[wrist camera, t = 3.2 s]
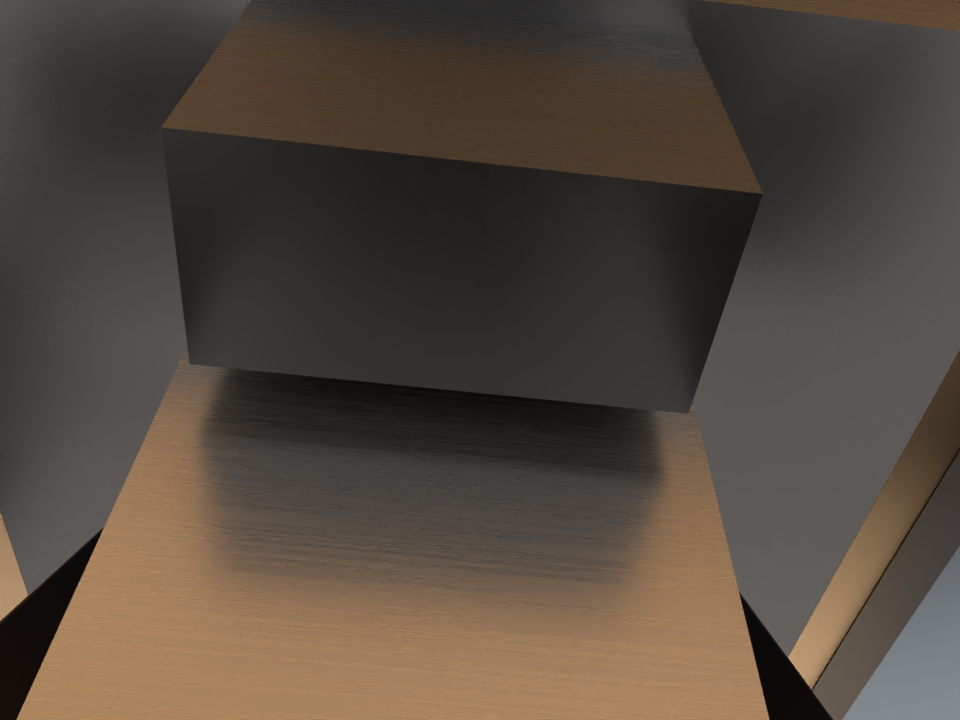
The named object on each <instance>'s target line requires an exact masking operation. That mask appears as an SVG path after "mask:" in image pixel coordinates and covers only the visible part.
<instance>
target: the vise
mask: <svg viewBox="0 0 960 720" xmlns="http://www.w3.org/2000/svg"><path fill="white" fill-rule="evenodd" d="M186 347H188V355H189V363H190V364H192V365H202V366H212V367H222V368H232V369H242V370H252V371H262V372H273V373H283V374H293V375H303V376H313V377H323V378H333V379H343V380H353V381H363V382H373V383H384V384H394V385H404V386H414V387H424V388H434V389H444V390H454V391H464V392H474V393H484V394H495V395H505V396H515V397H525V398H535V399H545V400H555V401H565V402H575V403H585V404H595V405H606V406H616V407H626V408H636V409H646V410H656V411H666V412H676V413H686V414H688V413H689V410H690V407H691V405H692V402H694V406H695V410H696V414H697V419H698V423H699V427H700V431H701V435H702V439H703V444H704V448H705V452H706V456H707V460H708V465H709V469H710V473H711V477H712V481H713V486H714V490H715V494H716V498H717V502H718V507H719V511H720V515H721V519H722V523H723V527H724V532H725V536H726V540H727V544H728V548H729V553H730V557H731V561H732V565H733V569H734V574H735V578H736V582H737V586H738V590H739V592H740V593H741V595H742V596H743V597H744V599H745V600H746V601H747V603H748V604H749V606H750V607H751V608H752V610H753V611H754V612H755V614H756V615H757V616H758V618H759V619H760V621H761V622H762V623H763V625H764V626H765V627H766V629H767V630H768V631H769V633H770V634H771V635H772V637H773V638H774V640H775V641H776V642H777V644H778V645H779V646H780V648H781V649H782V650H783V652H784V653H785V655H786V656H787V657H788V656H789V655H790V653H791V651H792V649H793V647H794V646H795V644H796V642H797V640H798V639H799V637H800V635H801V633H802V631H803V630H804V628H805V626H806V624H807V622H808V621H809V619H810V617H811V615H812V613H813V612H814V610H815V608H816V606H817V605H818V603H819V601H820V599H821V597H822V596H823V594H824V592H825V590H826V588H827V587H828V585H829V583H830V581H831V580H832V578H833V576H834V574H835V572H836V571H837V569H838V567H839V565H840V563H841V562H842V560H843V558H844V556H845V554H846V553H847V551H848V549H849V547H850V546H851V544H852V542H853V540H854V538H855V537H856V535H857V533H858V531H859V529H860V528H861V526H862V524H863V522H864V521H865V519H866V517H867V515H868V513H869V512H870V510H871V508H872V506H873V504H874V503H875V501H876V499H877V497H878V496H879V494H880V492H881V490H882V488H883V487H884V485H885V483H886V481H887V479H888V478H889V476H890V474H891V472H892V470H893V469H894V467H895V465H896V463H897V462H898V460H899V458H900V456H901V454H902V453H903V451H904V449H905V447H906V445H907V444H908V442H909V440H910V438H911V437H912V435H913V433H914V431H915V429H916V428H917V426H918V424H919V422H920V420H921V419H922V417H923V415H924V413H925V411H926V410H927V408H928V406H929V404H930V403H931V401H932V399H933V397H934V395H935V394H936V392H937V390H938V388H939V386H940V385H941V383H942V381H943V379H944V378H945V376H946V374H947V372H948V370H949V369H950V367H951V365H952V363H953V361H954V360H955V358H956V356H957V354H958V353H959V351H960V2H955V1H947V0H0V511H1V514H2V517H3V520H4V523H5V526H6V529H7V532H8V535H9V538H10V541H11V544H12V547H13V550H14V553H15V556H16V559H17V563H18V566H19V569H20V572H21V575H22V578H23V581H24V584H25V587H26V590H27V593H28V595H30V594H31V593H32V592H33V591H34V590H35V589H36V588H37V587H38V586H39V585H41V584H42V583H43V582H44V581H45V580H46V579H47V578H48V577H49V576H50V575H52V574H53V573H54V572H55V571H56V570H57V569H58V568H59V567H60V566H61V565H63V564H64V563H65V562H66V561H67V560H68V559H69V558H70V557H71V556H72V555H74V554H75V553H76V552H77V551H78V550H79V549H80V548H81V547H82V546H83V545H84V544H86V543H87V542H88V541H89V540H90V539H91V538H92V537H93V536H94V535H95V534H97V533H98V532H99V531H100V530H101V529H102V528H103V527H104V526H105V525H106V522H107V520H108V518H109V516H110V514H111V511H112V509H113V507H114V505H115V503H116V501H117V498H118V496H119V494H120V492H121V490H122V487H123V485H124V483H125V481H126V479H127V476H128V474H129V472H130V470H131V468H132V465H133V463H134V461H135V459H136V457H137V455H138V452H139V450H140V448H141V446H142V444H143V441H144V439H145V437H146V435H147V433H148V430H149V428H150V426H151V424H152V422H153V419H154V417H155V415H156V413H157V411H158V409H159V406H160V404H161V402H162V400H163V398H164V395H165V393H166V391H167V389H168V387H169V384H170V382H171V380H172V378H173V376H174V373H175V371H176V369H177V367H178V365H179V362H180V360H181V358H182V356H183V354H184V352H185V349H186Z"/></svg>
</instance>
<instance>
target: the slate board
mask: <svg viewBox="0 0 960 720" xmlns="http://www.w3.org/2000/svg"><path fill="white" fill-rule="evenodd" d="M813 693H814V694H815V695H816V697H817V698H818V699H819V701H820V702H821V704H822V705H823V706H824V708H825V709H826V710H827V712H828V713H829V714H830V716H831V717H832V719H833V720H960V451H959V453H958V455H957V456H956V458H955V460H954V461H953V463H952V464H951V466H950V468H949V469H948V471H947V473H946V474H945V476H944V477H943V479H942V481H941V482H940V484H939V486H938V487H937V489H936V491H935V492H934V494H933V495H932V497H931V499H930V500H929V502H928V504H927V505H926V507H925V508H924V510H923V512H922V513H921V515H920V517H919V518H918V520H917V521H916V523H915V525H914V526H913V528H912V530H911V531H910V533H909V534H908V536H907V538H906V539H905V541H904V543H903V544H902V546H901V548H900V549H899V551H898V552H897V554H896V556H895V557H894V559H893V561H892V562H891V564H890V565H889V567H888V569H887V570H886V572H885V574H884V575H883V577H882V578H881V580H880V582H879V583H878V585H877V587H876V588H875V590H874V591H873V593H872V595H871V596H870V598H869V600H868V601H867V603H866V605H865V606H864V608H863V609H862V611H861V613H860V614H859V616H858V618H857V619H856V621H855V622H854V624H853V626H852V627H851V629H850V631H849V632H848V634H847V635H846V637H845V639H844V640H843V642H842V644H841V645H840V647H839V649H838V650H837V652H836V653H835V655H834V657H833V658H832V660H831V662H830V663H829V665H828V666H827V668H826V670H825V671H824V673H823V675H822V676H821V678H820V679H819V681H818V683H817V684H816V686H815V688H814V689H813Z"/></svg>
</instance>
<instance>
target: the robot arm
mask: <svg viewBox="0 0 960 720" xmlns="http://www.w3.org/2000/svg"><path fill="white" fill-rule="evenodd" d="M104 527H105V526H104ZM104 527H103V528H102V529H101V530H100V531H99V532H98V533H97V534H95V535H94V536H93V537H92V538H91V539H90V540H89V541H88V542H87V543H86V544H84V545H83V546H82V547H81V548H80V549H79V550H78V551H77V552H76V553H75V554H74V555H72V556H71V557H70V558H69V559H68V560H67V561H66V562H65V563H64V564H63V565H61V566H60V567H59V568H58V569H57V570H56V571H55V572H54V573H53V574H52V575H50V576H49V577H48V578H47V579H46V580H45V581H44V582H43V583H42V584H41V585H39V586H38V587H37V588H36V589H35V590H34V591H33V592H32V593H31V594H30V595H28V596H27V597H26V598H25V599H24V600H23V601H22V602H21V603H20V604H19V605H17V606H16V607H15V608H14V609H13V610H12V611H11V612H10V613H9V614H8V615H6V616H5V617H4V618H3V619H2V620H1V621H0V720H17V717H18V715H19V713H20V711H21V709H22V706H23V704H24V702H25V700H26V698H27V695H28V693H29V691H30V689H31V687H32V685H33V682H34V680H35V678H36V676H37V674H38V671H39V669H40V667H41V665H42V663H43V660H44V658H45V656H46V654H47V652H48V649H49V647H50V645H51V643H52V641H53V639H54V636H55V634H56V632H57V630H58V628H59V625H60V623H61V621H62V619H63V617H64V614H65V612H66V610H67V608H68V606H69V603H70V601H71V599H72V597H73V595H74V593H75V590H76V588H77V586H78V584H79V582H80V579H81V577H82V575H83V573H84V571H85V568H86V566H87V564H88V562H89V560H90V557H91V555H92V553H93V551H94V549H95V547H96V544H97V542H98V540H99V538H100V536H101V533H102V531H103V529H104ZM739 595H740V599H741V603H742V607H743V611H744V616H745V620H746V624H747V628H748V632H749V636H750V641H751V645H752V649H753V653H754V657H755V662H756V666H757V670H758V674H759V678H760V683H761V687H762V691H763V695H764V699H765V704H766V708H767V712H768V716H769V720H833V719H832V717H831V716H830V714H829V713H828V712H827V710H826V709H825V708H824V706H823V705H822V704H821V702H820V701H819V699H818V698H817V697H816V695H815V694H814V693H813V691H812V690H811V689H810V687H809V686H808V685H807V683H806V682H805V680H804V679H803V678H802V676H801V675H800V674H799V672H798V671H797V670H796V668H795V667H794V665H793V664H792V663H791V661H790V660H789V659H788V657H787V656H786V655H785V653H784V652H783V650H782V649H781V648H780V646H779V645H778V644H777V642H776V641H775V640H774V638H773V637H772V635H771V634H770V633H769V631H768V630H767V629H766V627H765V626H764V625H763V623H762V622H761V621H760V619H759V618H758V616H757V615H756V614H755V612H754V611H753V610H752V608H751V607H750V606H749V604H748V603H747V601H746V600H745V599H744V597H743V596H742V595H741V593H740V592H739Z"/></svg>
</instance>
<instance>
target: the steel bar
mask: <svg viewBox="0 0 960 720" xmlns="http://www.w3.org/2000/svg"><path fill="white" fill-rule="evenodd" d="M17 720H769V716H768V712H767V708H766V704H765V699H764V695H763V691H762V687H761V683H760V678H759V674H758V670H757V666H756V662H755V657H754V653H753V649H752V645H751V641H750V636H749V632H748V628H747V624H746V620H745V616H744V611H743V607H742V603H741V599H740V595H739V590H738V586H737V582H736V578H735V574H734V569H733V565H732V561H731V557H730V553H729V548H728V544H727V540H726V536H725V532H724V527H723V523H722V519H721V515H720V511H719V507H718V502H717V498H716V494H715V490H714V486H713V481H712V477H711V473H710V469H709V465H708V460H707V456H706V452H705V448H704V444H703V439H702V435H701V431H700V427H699V423H698V419H697V414H696V410H695V406H694V402H692V405H691V407H690V410H689V413H688V414H686V413H676V412H666V411H656V410H646V409H636V408H626V407H616V406H606V405H595V404H585V403H575V402H565V401H555V400H545V399H535V398H525V397H515V396H505V395H495V394H484V393H474V392H464V391H454V390H444V389H434V388H424V387H414V386H404V385H394V384H384V383H373V382H363V381H353V380H343V379H333V378H323V377H313V376H303V375H293V374H283V373H273V372H262V371H252V370H242V369H232V368H222V367H212V366H202V365H192V364H190V363H189V355H188V347H186V349H185V352H184V354H183V356H182V358H181V360H180V362H179V365H178V367H177V369H176V371H175V373H174V376H173V378H172V380H171V382H170V384H169V387H168V389H167V391H166V393H165V395H164V398H163V400H162V402H161V404H160V406H159V409H158V411H157V413H156V415H155V417H154V419H153V422H152V424H151V426H150V428H149V430H148V433H147V435H146V437H145V439H144V441H143V444H142V446H141V448H140V450H139V452H138V455H137V457H136V459H135V461H134V463H133V465H132V468H131V470H130V472H129V474H128V476H127V479H126V481H125V483H124V485H123V487H122V490H121V492H120V494H119V496H118V498H117V501H116V503H115V505H114V507H113V509H112V511H111V514H110V516H109V518H108V520H107V522H106V525H105V527H104V529H103V531H102V533H101V536H100V538H99V540H98V542H97V544H96V547H95V549H94V551H93V553H92V555H91V557H90V560H89V562H88V564H87V566H86V568H85V571H84V573H83V575H82V577H81V579H80V582H79V584H78V586H77V588H76V590H75V593H74V595H73V597H72V599H71V601H70V603H69V606H68V608H67V610H66V612H65V614H64V617H63V619H62V621H61V623H60V625H59V628H58V630H57V632H56V634H55V636H54V639H53V641H52V643H51V645H50V647H49V649H48V652H47V654H46V656H45V658H44V660H43V663H42V665H41V667H40V669H39V671H38V674H37V676H36V678H35V680H34V682H33V685H32V687H31V689H30V691H29V693H28V695H27V698H26V700H25V702H24V704H23V706H22V709H21V711H20V713H19V715H18V717H17Z"/></svg>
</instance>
